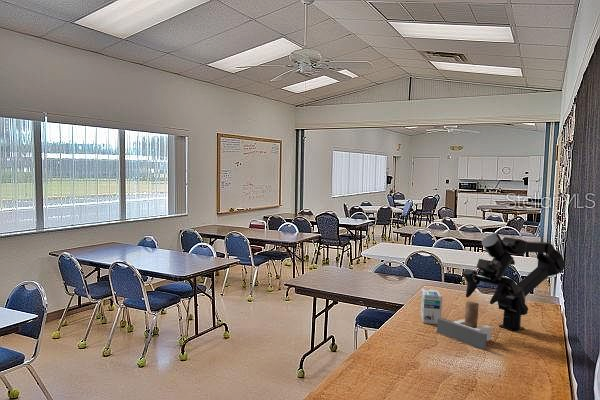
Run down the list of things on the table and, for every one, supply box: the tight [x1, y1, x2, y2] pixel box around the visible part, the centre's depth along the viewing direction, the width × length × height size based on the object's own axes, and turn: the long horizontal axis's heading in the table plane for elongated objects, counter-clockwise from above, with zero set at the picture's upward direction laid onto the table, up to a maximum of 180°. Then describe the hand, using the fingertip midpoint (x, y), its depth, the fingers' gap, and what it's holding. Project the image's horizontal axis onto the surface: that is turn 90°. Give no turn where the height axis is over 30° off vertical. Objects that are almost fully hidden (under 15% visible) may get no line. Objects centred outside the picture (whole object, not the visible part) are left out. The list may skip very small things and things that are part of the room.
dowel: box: [464, 301, 479, 328], centre depth 157 cm, size 4×4×12 cm
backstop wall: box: [436, 317, 488, 350], centre depth 154 cm, size 2×18×5 cm, turn 35°
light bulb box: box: [420, 288, 443, 325], centre depth 176 cm, size 11×7×11 cm, turn 170°
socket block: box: [453, 318, 493, 342], centre depth 157 cm, size 9×10×4 cm
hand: (478, 300), depth 158 cm, fingers open, 9 cm apart
